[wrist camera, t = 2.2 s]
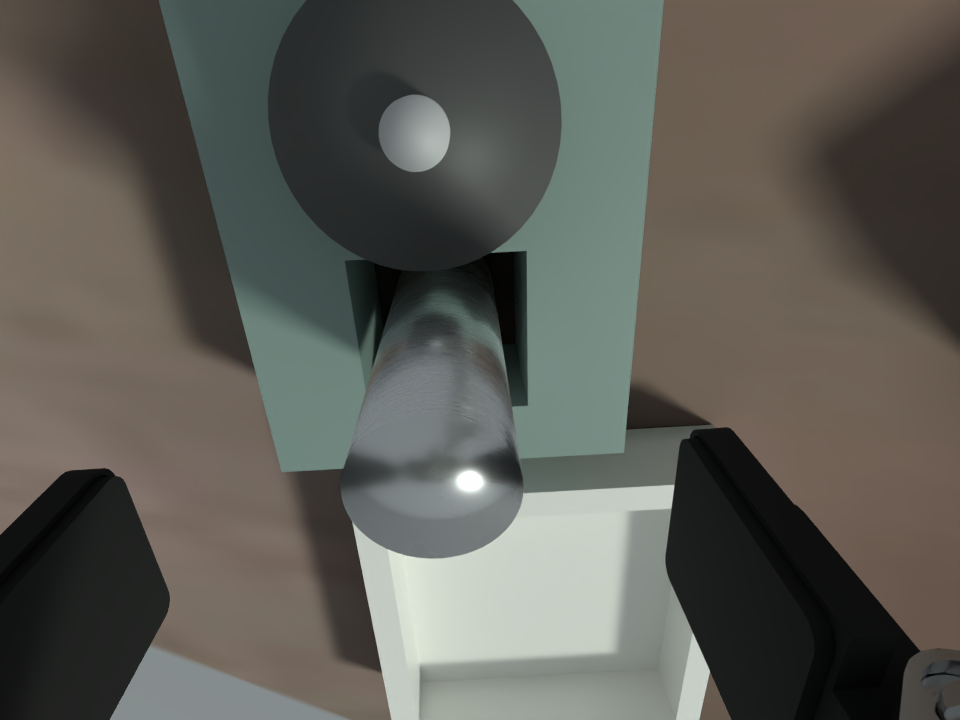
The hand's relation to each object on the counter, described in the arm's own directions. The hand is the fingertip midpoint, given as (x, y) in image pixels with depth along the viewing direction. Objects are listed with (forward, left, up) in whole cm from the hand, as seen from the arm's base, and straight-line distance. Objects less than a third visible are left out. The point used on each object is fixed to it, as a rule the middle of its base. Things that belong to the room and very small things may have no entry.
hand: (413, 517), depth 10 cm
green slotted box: (-3, 0, -10) cm, 10 cm away
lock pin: (-1, 0, -10) cm, 10 cm away
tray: (+12, +3, -10) cm, 16 cm away
